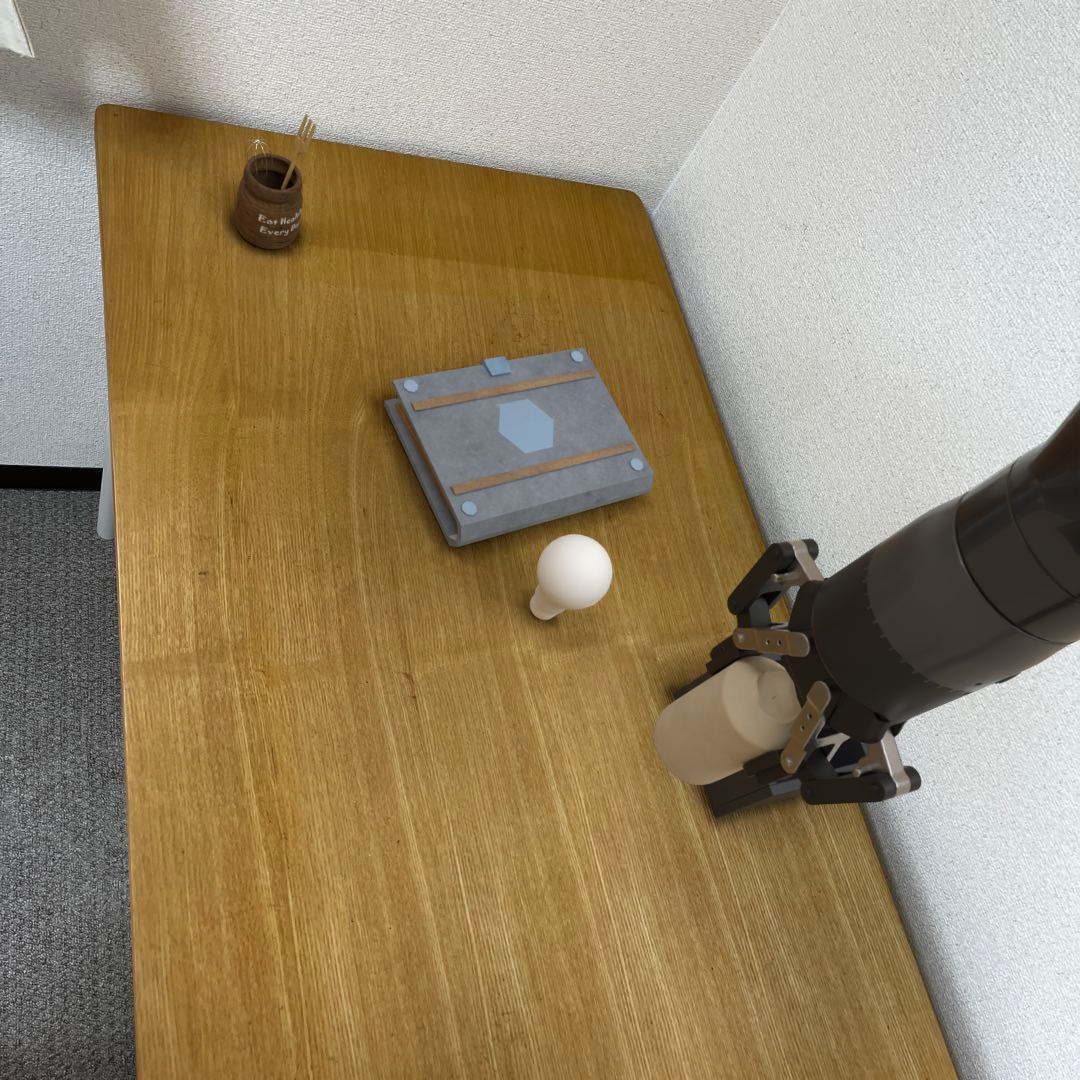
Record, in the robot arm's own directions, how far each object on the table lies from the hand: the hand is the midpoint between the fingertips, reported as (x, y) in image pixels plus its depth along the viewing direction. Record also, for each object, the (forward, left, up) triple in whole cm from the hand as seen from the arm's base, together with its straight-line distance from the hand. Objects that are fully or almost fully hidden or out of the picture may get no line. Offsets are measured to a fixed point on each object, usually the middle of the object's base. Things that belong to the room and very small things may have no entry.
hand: (738, 717), depth 53 cm
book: (+33, -3, -24) cm, 41 cm away
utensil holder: (+60, +16, -24) cm, 66 cm away
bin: (+2, -17, -24) cm, 29 cm away
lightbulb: (+17, -1, -24) cm, 29 cm away
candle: (0, 0, -6) cm, 6 cm away
